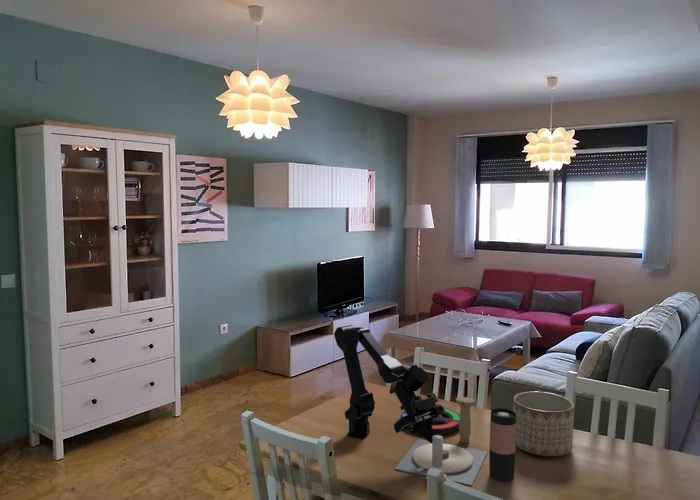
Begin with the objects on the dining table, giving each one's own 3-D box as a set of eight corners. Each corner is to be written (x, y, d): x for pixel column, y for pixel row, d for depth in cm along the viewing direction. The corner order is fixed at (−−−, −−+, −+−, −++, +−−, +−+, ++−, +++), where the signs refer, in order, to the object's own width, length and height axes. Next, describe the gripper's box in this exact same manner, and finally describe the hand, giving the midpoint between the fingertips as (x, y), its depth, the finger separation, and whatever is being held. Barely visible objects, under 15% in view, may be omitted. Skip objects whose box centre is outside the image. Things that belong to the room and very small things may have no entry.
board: (394, 469, 175) (394, 467, 175) (418, 440, 197) (418, 438, 197) (471, 486, 165) (471, 483, 165) (487, 453, 187) (487, 451, 187)
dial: (422, 442, 194) (422, 414, 193) (477, 452, 186) (478, 423, 185) (405, 466, 176) (405, 435, 175) (466, 478, 169) (466, 446, 168)
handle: (471, 446, 192) (472, 403, 191) (453, 442, 196) (454, 400, 194) (475, 441, 196) (476, 399, 195) (458, 437, 200) (459, 395, 198)
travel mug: (485, 470, 175) (486, 408, 173) (509, 470, 175) (511, 407, 174) (493, 483, 167) (495, 418, 165) (518, 482, 168) (520, 417, 166)
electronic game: (411, 409, 226) (411, 398, 226) (468, 419, 217) (468, 407, 216) (391, 430, 206) (391, 418, 205) (453, 442, 196) (453, 429, 196)
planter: (573, 442, 196) (575, 396, 194) (570, 465, 178) (572, 415, 177) (516, 432, 204) (518, 388, 202) (507, 454, 186) (509, 405, 185)
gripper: (400, 392, 172) (427, 439, 165) (440, 380, 184) (467, 423, 177) (382, 410, 179) (407, 455, 171) (422, 396, 191) (447, 438, 183)
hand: (433, 442), depth 175 cm, fingers closed, pressing on dial
